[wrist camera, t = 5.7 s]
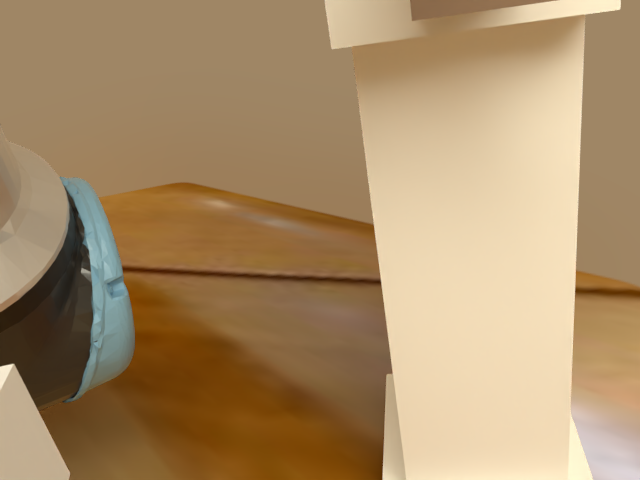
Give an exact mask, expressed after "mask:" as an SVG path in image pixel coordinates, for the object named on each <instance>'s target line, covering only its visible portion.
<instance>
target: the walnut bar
mask: <svg viewBox="0 0 640 480" xmlns="http://www.w3.org/2000/svg"><path fill="white" fill-rule="evenodd" d="M550 1H557V0H410V4H411V16H412V21H417V20H424V19H431V18H438V17H445V16H452V15H459V14H466V13H473V12H480V11H487V10H494V9H501V8H508V7H515V6H522V5H529V4H536V3H543V2H550Z"/></svg>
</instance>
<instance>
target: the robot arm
mask: <svg viewBox="0 0 640 480" xmlns="http://www.w3.org/2000/svg"><path fill="white" fill-rule="evenodd" d="M123 279H124V276H123V271H122V265H121V260H120V256H119V253H118V249H117V246H116V243H115V240H114V237H113V233H112V230H111V228H110V225H109V222H108V219H107V217H106V214H105V212H104V209H103V207H102V205H101V203H100V201H99V199H98V196H97V195H96V193H95V191H94V190H93V188H92V187H91V185H90V184H89V183H88V182H86V181H85V180H83V179H80V178H64V177H59V176H58V175H57V174H56V172H55V171H54V170H53V168H52V167H51V166H50V165H49V164H48V163H47V162H46V161H45V160H44V159H43V158H41V157H40V156H38V155H37V154H36V153H34V152H33V151H31V150H29V149H26V148H24V147H23V146H20V145H18V144H15V143H12V142H10V141H7V139H6V137H5V134H4V132H3V129H2V127H1V125H0V480H69V477H70V472H69V470H68V468H67V466H66V464H65V462H64V460H63V458H62V456H61V455H60V453H59V451H58V449H57V447H56V445H55V443H54V441H53V439H52V437H51V435H50V433H49V431H48V429H47V427H46V425H45V423H44V421H43V419H42V417H41V415H40V414H39V412H38V411H40V410H42V409H45V408H47V407H50V406H52V405H55V404H57V403H60V402H64V403H67V402H71V401H74V400H77V399H79V398H80V397H81V396H82V395H83V394H84V393H85V392H86V391H88V390H90V389H93V388H95V387H97V386H99V385H101V384H103V383H105V382H107V381H110V380H112V379H114V378H116V377H117V376H119V375H120V374H121V373H122V372H124V371H125V369H126V368H127V367H128V365H129V364H130V362H131V360H132V357H133V354H134V348H135V330H134V321H133V314H132V308H131V303H130V298H129V294H128V291H127V288H126V286H125V284H124V283H123Z"/></svg>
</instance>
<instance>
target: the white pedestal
mask: <svg viewBox="0 0 640 480" xmlns="http://www.w3.org/2000/svg"><path fill="white" fill-rule="evenodd" d="M620 5H621V0H557V1H550V2H543V3H536V4H529V5H522V6H515V7H508V8H501V9H494V10H487V11H480V12H473V13H466V14H459V15H452V16H445V17H438V18H431V19H424V20H417V21H412V16H411V4H410V0H325V6H326V13H327V20H328V27H329V35H330V42H331V49H337V48H344V47H352V55H353V62H354V70H355V79H356V86H357V94H358V102H359V110H360V117H361V126H362V134H363V142H364V150H365V157H366V165H367V173H368V181H369V189H370V197H371V205H372V213H373V221H374V228H375V236H376V244H377V252H378V260H379V268H380V276H381V284H382V292H383V300H384V307H385V315H386V323H387V331H388V339H389V347H390V355H391V363H392V371H393V374H386V400H385V427H384V454H383V480H593V478H592V475H591V472H590V469H589V466H588V463H587V460H586V457H585V454H584V451H583V448H582V445H581V442H580V439H579V436H578V433H577V430H576V427H575V424H574V422H573V419H572V416H571V413H570V408H571V381H572V354H573V327H574V300H575V274H576V247H577V219H578V192H579V191H578V190H579V166H580V165H579V163H580V137H581V113H582V84H583V58H584V32H585V14H590V13H597V12H605V11H611V10H619V9H620Z"/></svg>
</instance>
